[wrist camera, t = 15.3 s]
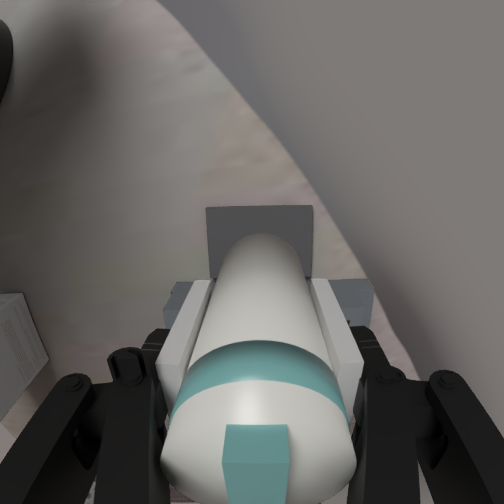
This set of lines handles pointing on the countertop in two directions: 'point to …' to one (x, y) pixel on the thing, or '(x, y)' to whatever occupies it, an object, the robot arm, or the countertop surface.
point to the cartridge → (259, 391)
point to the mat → (259, 230)
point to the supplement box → (17, 350)
